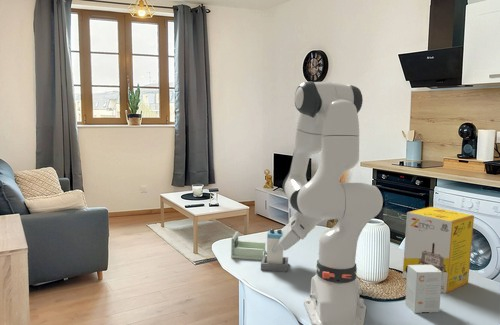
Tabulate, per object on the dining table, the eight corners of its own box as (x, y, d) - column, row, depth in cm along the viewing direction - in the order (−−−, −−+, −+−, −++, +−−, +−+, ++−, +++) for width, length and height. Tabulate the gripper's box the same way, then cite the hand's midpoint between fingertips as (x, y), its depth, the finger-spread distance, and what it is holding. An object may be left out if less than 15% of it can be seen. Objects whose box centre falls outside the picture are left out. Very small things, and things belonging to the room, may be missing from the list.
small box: (428, 303, 130) (431, 264, 128) (439, 312, 124) (443, 271, 122) (404, 303, 129) (407, 264, 128) (414, 313, 123) (417, 272, 121)
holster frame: (287, 271, 153) (287, 265, 153) (260, 269, 155) (260, 263, 154) (288, 263, 162) (288, 257, 162) (263, 261, 164) (263, 255, 163)
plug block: (282, 269, 156) (283, 232, 154) (266, 268, 156) (267, 231, 155) (282, 264, 161) (284, 228, 159) (267, 263, 161) (268, 227, 160)
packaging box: (402, 278, 150) (406, 211, 147) (425, 268, 160) (430, 206, 157) (445, 293, 137) (451, 221, 134) (468, 282, 147) (474, 215, 144)
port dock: (262, 260, 165) (262, 241, 164) (231, 257, 167) (231, 239, 166) (265, 250, 177) (265, 232, 176) (236, 248, 179) (236, 230, 178)
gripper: (295, 212, 166) (270, 233, 168) (293, 225, 145) (265, 250, 148) (305, 223, 166) (281, 245, 168) (305, 238, 145) (277, 262, 148)
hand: (273, 247), depth 158 cm, fingers open, 8 cm apart
